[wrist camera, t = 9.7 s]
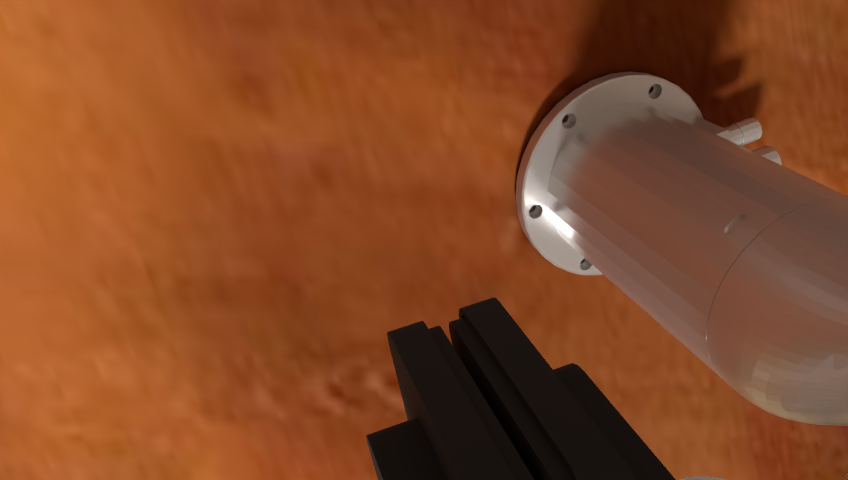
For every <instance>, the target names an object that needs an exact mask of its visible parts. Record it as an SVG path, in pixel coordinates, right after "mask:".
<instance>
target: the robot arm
mask: <svg viewBox="0 0 848 480" xmlns="http://www.w3.org/2000/svg"><path fill="white" fill-rule="evenodd" d="M564 116H565V117H564ZM563 118H564V119H563ZM562 119H563V120H562ZM761 135H762V128H761V125H760V123H759V122H758V120H756V119H755V118H748V119H745V120H742V121H739V122H736V123H734V124H732V125H731V126H729V127H726V128H722V127H720V126H717V125H715V124H713V123H711V122H709V121H707V120H704V119H703V116H702V114H701V111H700V109H699V108H698V106H697V105H696V104H695V102H694V101H693V99H692V98H691V97H690V96H689V95H688V94H687V93H686V92H685V91H684V90H682V89H681V88H680V87H679V86H677V85H675V84H673V83H671V82H669V81H667V80H665V79H663V78H660V77H657V76H654V75H651V74H649V73H642V72H631V71H629V72H620V73H612V74H609V75H606V76H603V77H600V78H597V79H594V80H591V81H590V82H588V83H586V84H584V85H582V86H581V87H579V88H577V89H575V90H574V91H572V92H571V93H570V94H569V95H567V96H566V97H565V98H564V99H562V100H561V101H560V102H559V103H557V104H556V105H555V107H554V108H553V109H552V110H551V111H550V112H549V113H548V114H547V115H546V117H545V118H544V119H543V120H542V121H541V123H540V125H539V126H538V128H537V129H536V131H535V132H534V134H533V135H532V137H531V139H530V141H529V143H528V145H527V147H526V150H525V152H524V154H523V156H522V160H521V164H520V167H519V171H518V175H517V183H516V196H515V197H516V205H517V214H518V217H519V220H520V223H521V226H522V229H523V232H524V233H525V235H526V236H527V238H528V240H529V241H530V243H531V245H532V246H533V247H534V248H535V249H536V250H537V251H538V252H539V253H540V254H541V255H542V256H543V257H544V258H546V259H547V260H548V261H550V262H551V263H552V264H553V265H555V266H557V267H559V268H561V269H563V270H566V271H568V272H571V273H575V274H580V275H604V276H606V277H607V278H608V279H609V280H610V281H611V282H612V283H614V284H615V285H616V286H617V287H618V288H619V289H620V290H622V291H623V292H624V293H625V294H626V295H627V296H628V297H630V298H631V299H632V300H633V301H634V302H635V303H636V304H638V305H639V306H640V307H641V308H642V309H643V310H644V311H646V312H647V313H648V314H649V315H650V316H651V317H652V318H654V319H655V320H656V321H657V322H658V323H659V324H660V325H662V326H663V327H664V328H665V329H666V330H667V331H668V332H670V333H671V334H672V335H673V336H674V337H675V338H676V339H678V340H679V341H680V342H681V343H682V344H683V345H684V346H686V347H687V348H688V349H689V350H690V351H691V352H692V353H694V354H695V355H696V356H697V357H698V358H699V359H700V360H702V361H703V362H704V363H705V364H706V365H707V366H708V367H710V368H711V369H712V370H713V371H714V372H715V373H716V374H718V375H719V376H720V377H721V378H722V379H723V380H724V381H725V382H727V383H728V384H729V385H730V386H731V387H732V388H734V389H735V390H736V391H737V392H738V393H739V394H740V395H742V396H743V397H744V398H746V399H747V400H749V401H750V402H751V403H753V404H754V405H756V406H758V407H760V408H762V409H763V410H765V411H767V412H769V413H772V414H774V415H777V416H780V417H783V418H786V419H789V420H793V421H798V422H804V423H810V424H820V425H848V196H845V195H843V194H841V193H839V192H837V191H835V190H833V189H831V188H829V187H826V186H824V185H822V184H820V183H818V182H816V181H814V180H812V179H809V178H807V177H805V176H803V175H801V174H799V173H797V172H795V171H793V170H790V169H788V168H786V167H784V166H782V163H781V159H780V156H779V154H778V153H777V151H776V150H775V149H774V148H772V147H771V146H763V147H760V148H758V149H755V150H752V151H750V150H748V149H746V148H744V147H742V145H745V144H748V143H750V142H753V141H756V140H758V139H759V138H761ZM449 330H450V335H451V340H452V344H451V343H450V341H449V339H448V338H447V336H446V335H445V333H444V331H443V330H442V328H441V327H440V326H436V327H433V328H430V329H428V328H427V326H426V324H425V323H424V322H423V321H420V322H417V323H414V324H411V325H408V326H405V327H402V328H399V329H396V330H393V331H390V332H388V333H387V336H388V341H389V346H390V350H391V354H392V358H393V362H394V366H395V370H396V374H397V378H398V382H399V386H400V390H401V394H402V398H403V402H404V407H405V411H406V415H407V419H408V421H406V422H403V423H400V424H398V425H395V426H392V427H389V428H386V429H383V430H380V431H378V432H375V433H372V434H369V435H366V437H367V442H368V446H369V449H370V453H371V456H372V460H373V463H374V467H375V470H376V474H377V477H378V480H675V478H674V477H673V476H672V475H671V474H670V472H669V471H668V470H667V469H666V468H665V467H664V465H663V464H662V463H661V462H660V461H659V459H658V458H657V457H656V456H655V455H654V454H653V452H652V451H651V450H650V449H649V448H648V446H647V445H646V444H645V443H644V442H643V441H642V439H641V438H640V437H639V436H638V435H637V433H636V432H635V431H634V430H633V429H632V428H631V426H630V425H629V424H628V423H627V422H626V420H625V419H624V418H623V417H622V416H621V415H620V413H619V412H618V411H617V410H616V409H615V407H614V406H613V405H612V404H611V403H610V402H609V400H608V399H607V398H606V397H605V396H604V394H603V393H602V392H601V391H600V390H599V389H598V387H597V386H596V385H595V384H594V383H593V381H592V380H591V379H590V378H589V377H588V375H587V374H586V373H585V372H584V371H583V370H582V369H581V368H580V367H579V366H578V365H576V364H573V363H571V364H569V365H566V366H563V367H560V368H557V369H554V370H553V369H552V368H551V367H550V366H549V364H548V363H547V362H546V361H545V359H544V358H543V357H542V355H541V354H540V353H539V352H538V350H537V349H536V348H535V347H534V345H533V344H532V343H531V341H530V340H529V339H528V338H527V336H526V335H525V334H524V333H523V331H522V330H521V329H520V327H519V326H518V325H517V324H516V322H515V321H514V320H513V319H512V317H511V316H510V315H509V313H508V312H507V311H506V310H505V308H504V307H503V306H502V305H501V303H500V302H499V301H498V300H497V299H496V298H490V299H487V300H484V301H481V302H478V303H475V304H472V305H469V306H466V307H463V308H460V310H459V319H458V320H455V321H452V322H450V323H449ZM452 345H453V346H452ZM680 480H725V479H722V478H714V477H705V476H699V477H690V478H682V479H680ZM842 480H848V472H847V474H846V475H845V476H844V478H843V479H842Z"/></svg>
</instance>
